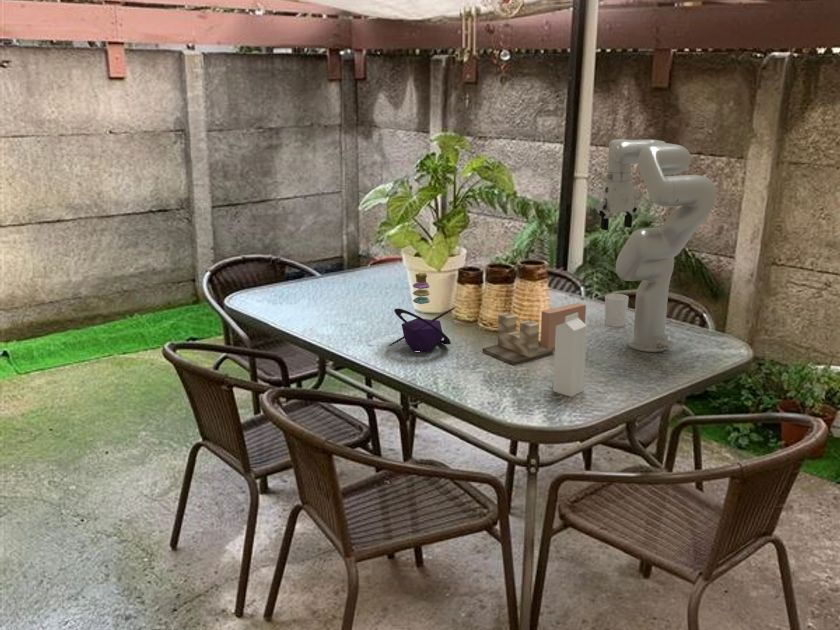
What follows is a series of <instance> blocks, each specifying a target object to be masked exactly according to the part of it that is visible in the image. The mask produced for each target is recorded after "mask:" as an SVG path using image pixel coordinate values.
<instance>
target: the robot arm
mask: <svg viewBox="0 0 840 630" xmlns="http://www.w3.org/2000/svg"><path fill="white" fill-rule="evenodd" d="M607 160H608V161H607V174H606V175H605V176H604V178H605V179H606V180H607V181H605V184H604V188H603V194H602V200H601V201H600V202H598V203H597V204H596V205H595V209H596V212H597V214H598V215H599V217H600V219H601V220H600V229H601V230H602V231H609V228H610V227H609V226H610V225H609V224H610V219H609V216H610V214H611V213H613V214H616V213H625V215H624V222H623V223H624V224H623V226H624V228H629V229H631V228H633V227H632V226H633V217H634V216H635V213H636V212H637V210H638V208H639V205H640V202H639V201H638V200H636V199H635V190H634V183H633V181H632V180H631V179H632V177H631V176H632V165H635V164H636V165H638V170H639V172H640V175H641V178H642V180H643V183H644V185H645V188H646V189H647V193H648V195H649V197H650V199H651V201H652V203H654V205H656V206H659V207H664V208H665V207H666V208H667V207H679V208H677V209H676V210H674V211H673V212H671V214H669V216H668V217H667V218H666V219H665V222H664V223H663V224H662V225H661V226H655V227H645V228H643V227H642V228H638V229H637V230H634V231H633V232H632V233H631V234H630V235H629V237H628V239H627V240H626V242H625V244H624V245H623V247H622V248H621V250H620V252H619V253H618V256H617V258H616V262H615V272H616V275H617V277H618V278H620V279H621V280H622V281H626V282H628V281H629V282H634V281H641V282H640V284H639V286H638V287H637V289H636V292H635V293H636V294H635V304H634V305H635V309H634V321H633V322H634V324H633V336H632V337H631V338H629V339H628V340H627V345H628V346H629V347H630V348H631V349H634V350H637V351H640V352H647V353H657V352H658V353H659V352H665V351H666V350H668V349H671V348H672V346H673V345H674V341H673V340H670V339H668V334H667V333H666V326H667V325H666V322H667V313H668V312H667V310H668V298H669V291H670V282H671V279H672V278H671V277H672V275H673V272H674V267H675V257H677V256H678V255H679V254H680V253H681V252H682V250H683V249H684V248H685V246H686V244H687V243H688V242H689V240H690V239H691V237H692V236H693V234H694V233H695V231H697V229H698V228H699V227H700V226H702V224H703V223H704V222H705V221H706V219H707V218H708V217H709V216H710V214H711V212H712V211H713V207H714V205H715V202H716V191H717V190H716V186H715V183H714V182H713V180H712V179H711V178H709V177H707V176H704V175H700V174H699V175H698V174H681V175H677V174H680V173H682V172H683V173H684V172H685V171H686V170H687V169H688V168H689V166H690V165H691V161H692V155H691V153H690V151H689V150H688V149H687V148H686V147H685V146H682V145H680V144H676V143H675V144H674V143H668V142H667V143H666V141H664V140H658V139H628V138H627V139H626V138H623V139H622V138H619V139H612V140H610V142H609V144H608V158H607Z"/></svg>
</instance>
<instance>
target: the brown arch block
mask: <svg viewBox="0 0 840 630" xmlns="http://www.w3.org/2000/svg"><path fill="white" fill-rule="evenodd" d="M586 309H587V305H586V304H584V303H581V302H575V303H571V304H567V305H561V306H557V307H553V308H549V309H545V310H542V311H541V319H540V320H541V323H540V324H541V325H540V326H541V327H540V346H541V347H544V348H546V349H549V350H553V349H555V334H556V326H557V325H560V324H562V323H564V322H565V317H566V316H569V315H572V314H574V313H577V312H578V318H579V319H580V320H581V321H582V322H583V323H585V324H586V313H587V312H586Z"/></svg>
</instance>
